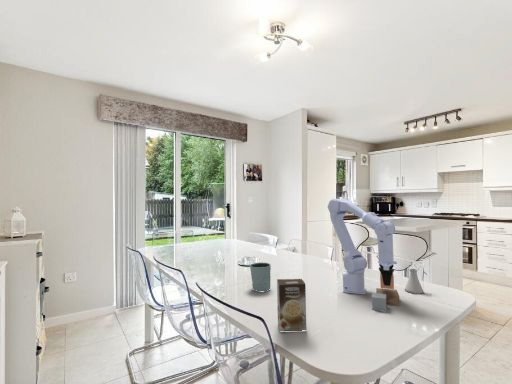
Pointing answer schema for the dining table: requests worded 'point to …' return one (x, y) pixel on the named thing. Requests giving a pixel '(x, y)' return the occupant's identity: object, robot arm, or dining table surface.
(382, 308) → the slate grey block
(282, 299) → the coffee box
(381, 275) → the terracotta block
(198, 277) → the dining table surface
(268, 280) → the grey green cup
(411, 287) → the flask
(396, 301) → the walnut base block
